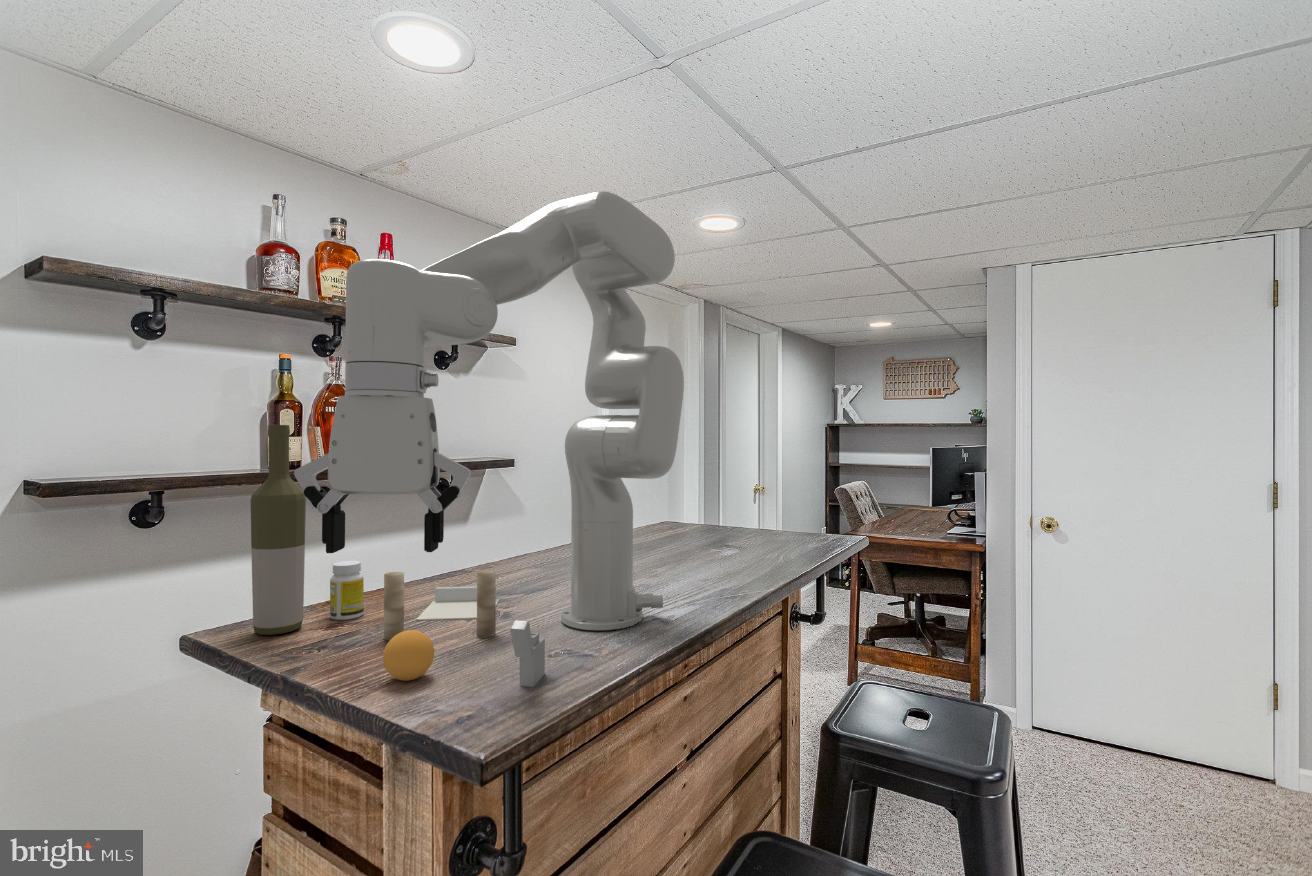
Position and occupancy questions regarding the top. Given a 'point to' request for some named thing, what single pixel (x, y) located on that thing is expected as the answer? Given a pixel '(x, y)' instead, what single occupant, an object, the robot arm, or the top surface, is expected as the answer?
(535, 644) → the lighter
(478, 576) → the post
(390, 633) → the post
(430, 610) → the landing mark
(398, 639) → the ball
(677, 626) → the top surface
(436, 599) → the stopper rail
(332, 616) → the supplement bottle
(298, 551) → the bottle
